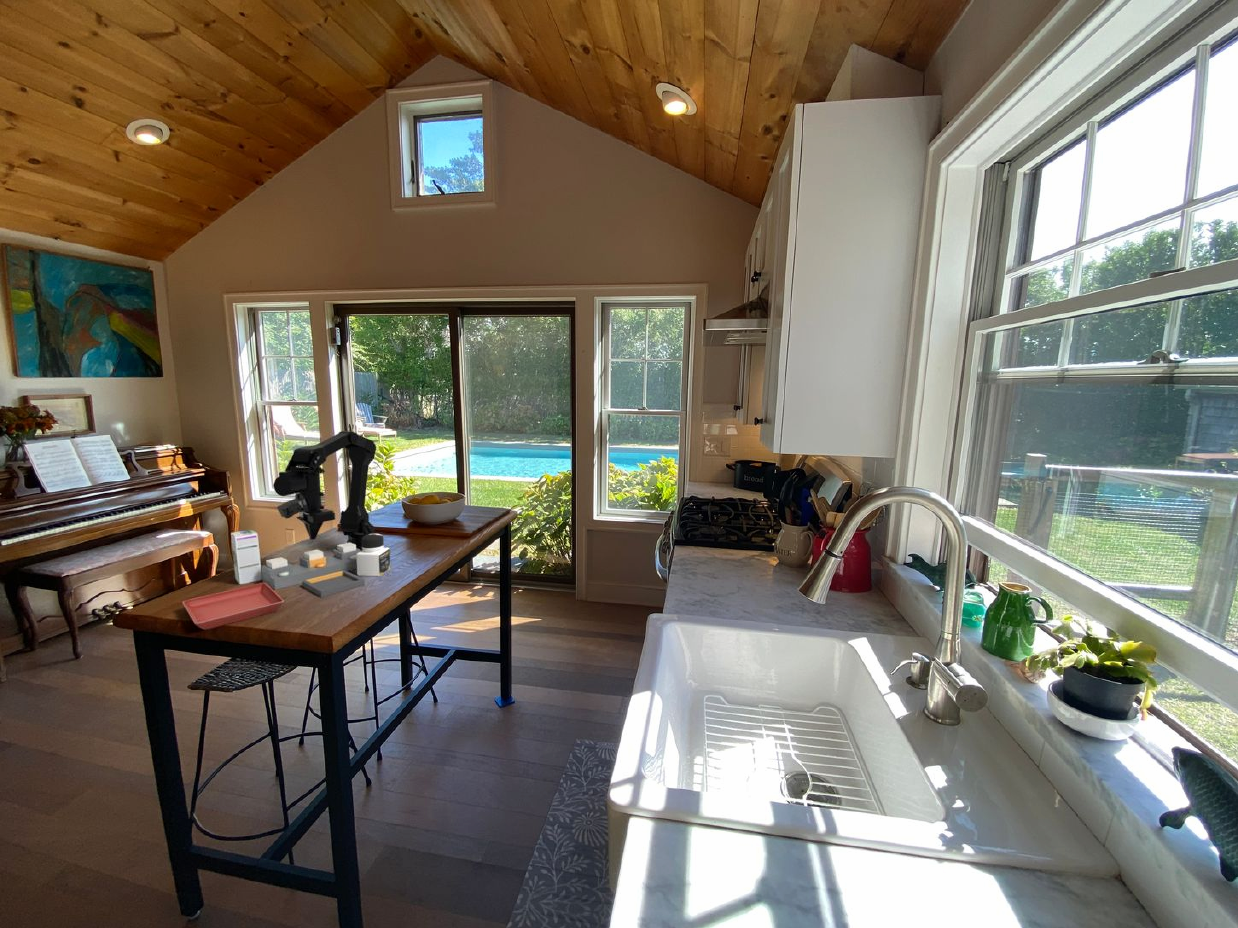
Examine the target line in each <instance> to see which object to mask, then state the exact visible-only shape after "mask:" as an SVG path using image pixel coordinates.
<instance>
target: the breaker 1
mask: <svg viewBox="0 0 1238 928" xmlns="http://www.w3.org/2000/svg"><path fill="white" fill-rule="evenodd" d="M265 562H266V565H267V567H268V568H270V569H275V568H279V567H283V566H288V564H287V563H288V560H287V558H284V557H281V556H280V557H276V558H271V559H267V560H265Z"/></svg>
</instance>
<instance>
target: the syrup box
mask: <svg viewBox="0 0 1238 928" xmlns="http://www.w3.org/2000/svg"><path fill="white" fill-rule="evenodd" d="M258 535H259V534H258V533H257V532H256V531H255V530H254V529H243V530H240V531H235V532H231V533H230V537H231V549H232V559H233V569H234V579H235V580H236V582H237V583H238V584H239V585H244V584H249V583H250V582H251V583H254V582H259V581H263V579H262V565H261V554H260V552H261V551H260V546H259V545H260V544H259V543H260V542H259V536H258ZM251 583H250V584H251Z"/></svg>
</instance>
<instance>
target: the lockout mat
mask: <svg viewBox="0 0 1238 928" xmlns="http://www.w3.org/2000/svg"><path fill="white" fill-rule="evenodd" d="M301 584H302V587H303V588H305V589H306V590H308V591H310V592H312V593H313V594H314V595H317V596H319V597H320V598H323V597H328V596H331V595H333V594H337V593H340V592H344V591H348V589H349V590H351V588H352V589H355V588H359V587H363V586H366V582H365V578H362V577H361V576H358V575H357V574H356V575H355V574H354V573H351V572H350V571H345V570H344V571H340V572H336V573H332V574H328V575H324V576H320V577H317V578H313V579H309V580H305V581H302V583H301Z"/></svg>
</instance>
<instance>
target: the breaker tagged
mask: <svg viewBox="0 0 1238 928" xmlns="http://www.w3.org/2000/svg"><path fill="white" fill-rule="evenodd" d="M323 555H324V551H322V550H320V549H314V550H313V549H312V550H308V551H304V552H303V557H304V559H307V560H309V561H310V560H314V559H319V558H323Z"/></svg>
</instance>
